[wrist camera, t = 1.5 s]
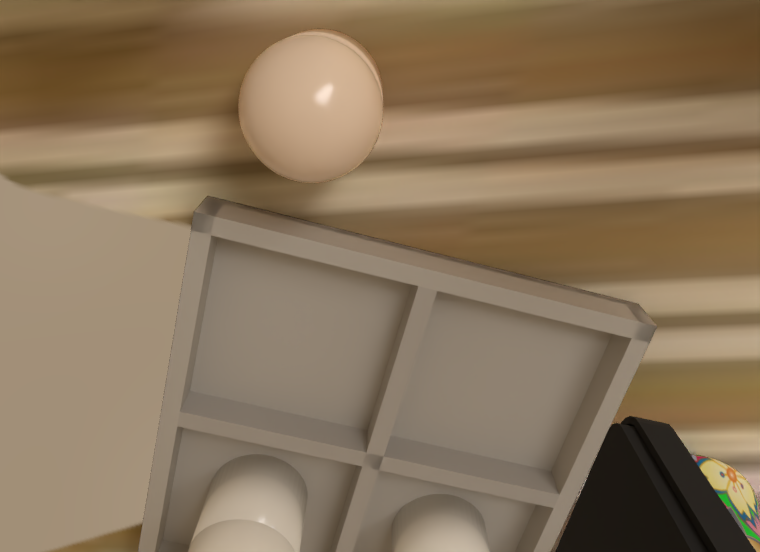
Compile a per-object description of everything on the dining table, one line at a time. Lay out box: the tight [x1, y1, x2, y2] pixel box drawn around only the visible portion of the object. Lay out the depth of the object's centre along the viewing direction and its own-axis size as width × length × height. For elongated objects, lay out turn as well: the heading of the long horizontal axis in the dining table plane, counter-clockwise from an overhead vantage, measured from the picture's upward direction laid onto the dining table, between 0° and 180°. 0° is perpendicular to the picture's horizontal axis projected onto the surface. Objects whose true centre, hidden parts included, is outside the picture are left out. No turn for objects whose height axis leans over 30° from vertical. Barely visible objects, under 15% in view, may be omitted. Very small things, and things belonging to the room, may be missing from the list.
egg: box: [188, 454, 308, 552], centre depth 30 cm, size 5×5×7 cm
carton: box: [138, 196, 657, 552], centre depth 32 cm, size 19×19×2 cm
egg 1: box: [238, 29, 383, 183], centre depth 23 cm, size 5×5×7 cm
